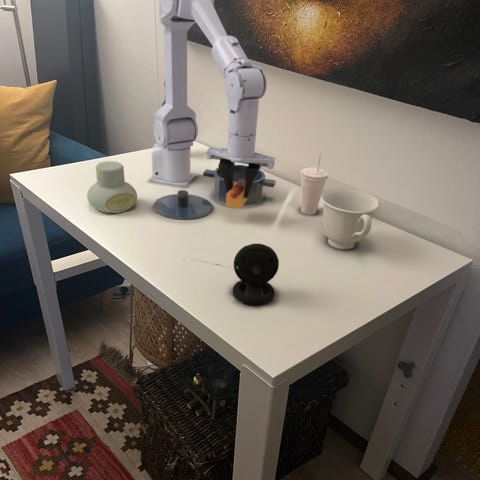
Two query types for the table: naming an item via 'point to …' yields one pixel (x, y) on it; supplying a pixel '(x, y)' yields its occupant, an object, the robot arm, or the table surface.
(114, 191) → the air freshener
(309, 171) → the smoothie
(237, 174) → the pot
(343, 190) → the teacup
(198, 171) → the table surface
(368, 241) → the table surface
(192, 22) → the robot arm
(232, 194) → the hot dog
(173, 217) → the pot lid
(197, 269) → the table surface
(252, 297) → the webcam
